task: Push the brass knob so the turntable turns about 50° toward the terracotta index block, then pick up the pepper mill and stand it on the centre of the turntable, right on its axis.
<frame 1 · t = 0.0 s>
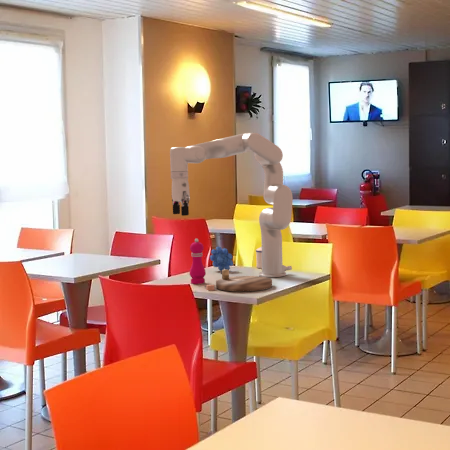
hand: (180, 214, 348), 31 cm above the table, fingers open, 9 cm apart
blue lumpy piece: (221, 271, 387), on the table
index block: (210, 289, 337), on the table
teacup with lid: (265, 267, 397), on the table
turntable: (243, 278, 341), point 4 cm above the table, hinge at 0.0°
pepper mill: (197, 283, 356), on the table
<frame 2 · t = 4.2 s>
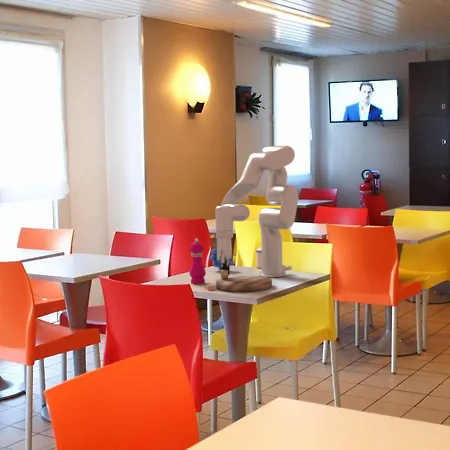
hand: (225, 275, 349), 4 cm above the table, fingers closed
turntable: (243, 278, 341), point 4 cm above the table, hinge at 5.4°, touching gripper
everything else where it was.
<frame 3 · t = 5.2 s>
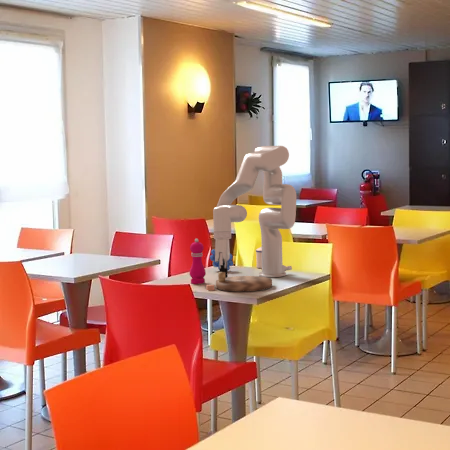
hand: (223, 277, 343), 4 cm above the table, fingers closed
turntable: (243, 278, 341), point 4 cm above the table, hinge at 41.2°, touching gripper
everything else where it was.
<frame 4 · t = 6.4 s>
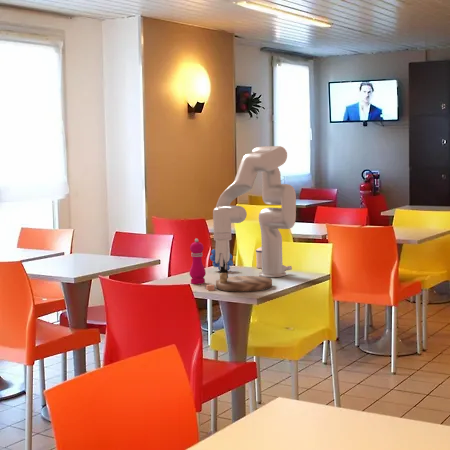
hand: (223, 278, 341), 4 cm above the table, fingers closed
turntable: (243, 278, 341), point 4 cm above the table, hinge at 56.7°, touching gripper
everything else where it was.
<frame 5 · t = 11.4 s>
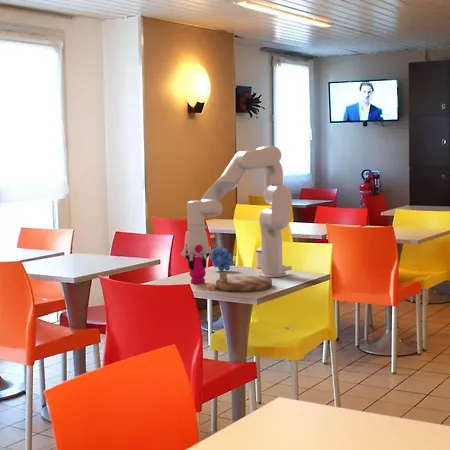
hand: (197, 268, 355), 7 cm above the table, fingers closed on pepper mill, 5 cm apart
turntable: (243, 278, 341), point 4 cm above the table, hinge at 56.7°
pepper mill: (197, 283, 356), on the table, touching gripper
everything else where it was.
when the fingers open (11 cm above the table, at t = 17.7 s): pepper mill drops 1 cm, resting on turntable.
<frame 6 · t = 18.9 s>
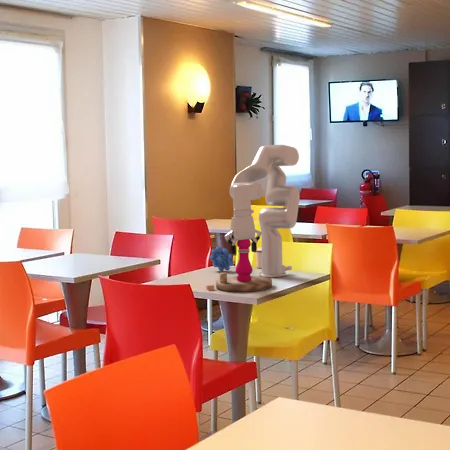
hand: (243, 253, 341), 15 cm above the table, fingers open, 9 cm apart
turntable: (243, 278, 341), point 4 cm above the table, hinge at 56.7°, touching pepper mill
pepper mill: (244, 280, 341), point 3 cm above the table, touching turntable
everything else where it was.
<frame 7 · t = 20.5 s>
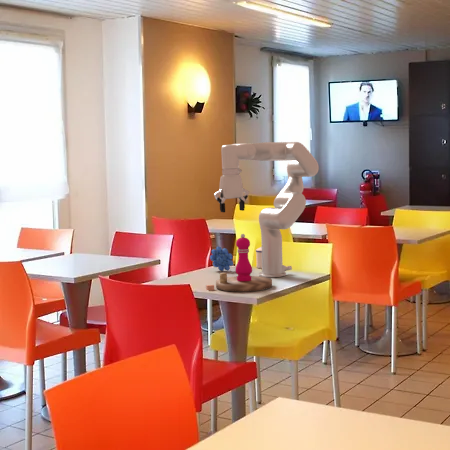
hand: (232, 211, 353), 32 cm above the table, fingers open, 9 cm apart
nothing on the table moved.
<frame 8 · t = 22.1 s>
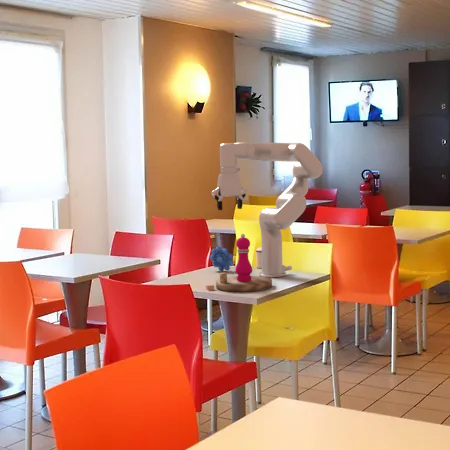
hand: (229, 209, 356), 32 cm above the table, fingers open, 9 cm apart
nothing on the table moved.
at the end: turntable at +57° (first picture: +0°); pepper mill 0.2 cm from the turntable (horizontally); pepper mill tilted 0° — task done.
